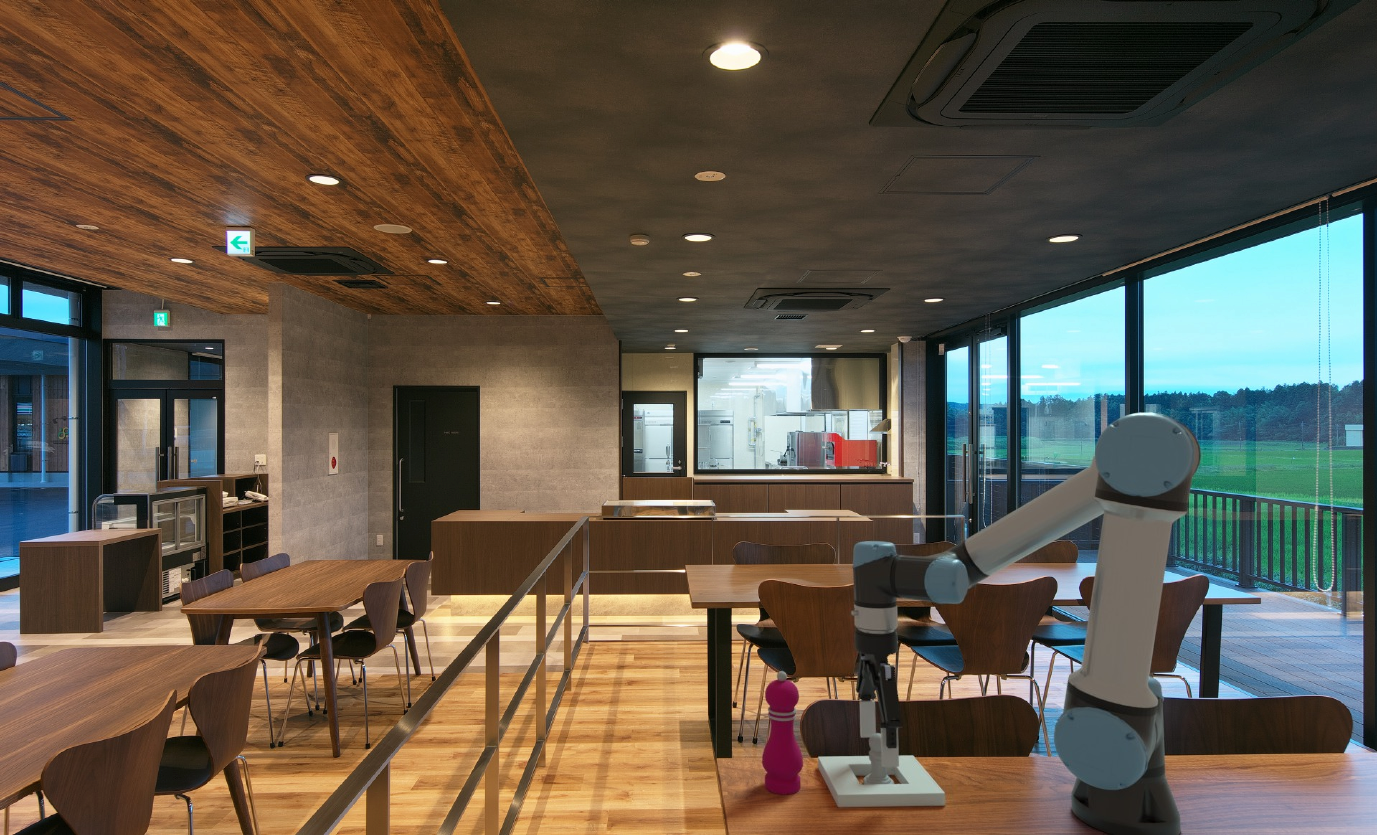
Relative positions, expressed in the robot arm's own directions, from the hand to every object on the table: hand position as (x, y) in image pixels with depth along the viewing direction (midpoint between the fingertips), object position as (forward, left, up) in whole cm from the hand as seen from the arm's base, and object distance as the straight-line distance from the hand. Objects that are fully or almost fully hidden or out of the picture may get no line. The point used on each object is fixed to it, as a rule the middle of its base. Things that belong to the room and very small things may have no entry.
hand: (878, 750), depth 132 cm
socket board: (0, 0, -6) cm, 6 cm away
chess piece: (0, 0, -6) cm, 6 cm away
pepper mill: (+12, +12, -6) cm, 18 cm away
